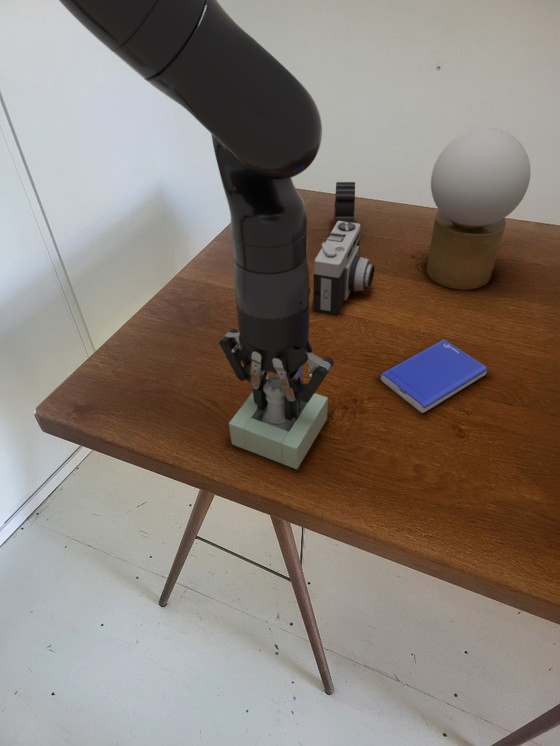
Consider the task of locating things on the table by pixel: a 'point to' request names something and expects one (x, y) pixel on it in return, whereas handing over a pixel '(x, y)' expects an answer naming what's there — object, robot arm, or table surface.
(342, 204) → the extruded letter emblem
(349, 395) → the table surface
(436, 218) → the lamp
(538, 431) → the table surface
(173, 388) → the table surface
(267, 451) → the socket
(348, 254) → the camera
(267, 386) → the rook chess piece
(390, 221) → the table surface
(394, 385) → the hard drive
